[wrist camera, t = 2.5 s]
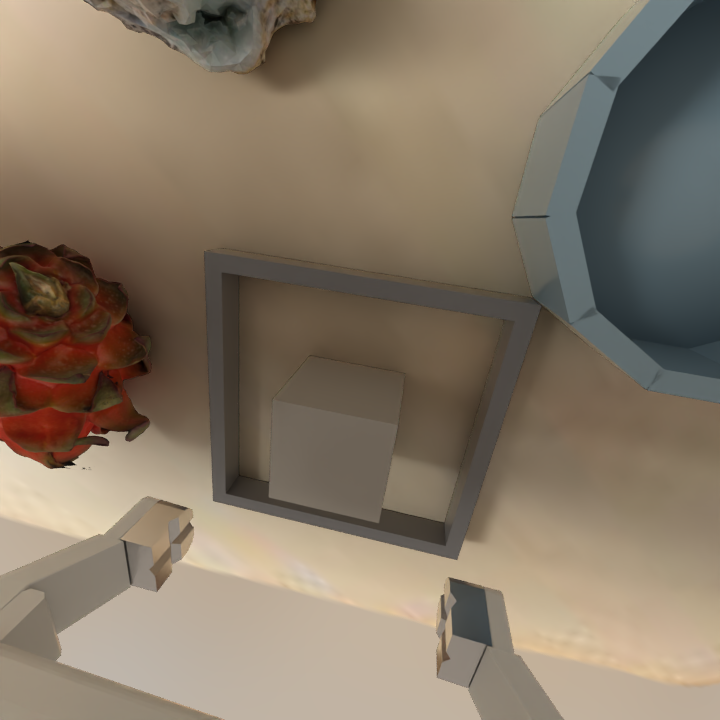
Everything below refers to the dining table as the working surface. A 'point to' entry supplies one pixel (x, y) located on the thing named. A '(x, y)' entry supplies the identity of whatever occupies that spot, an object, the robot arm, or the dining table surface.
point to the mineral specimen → (212, 26)
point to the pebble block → (335, 437)
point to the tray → (511, 308)
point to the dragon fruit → (64, 355)
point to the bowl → (634, 199)
